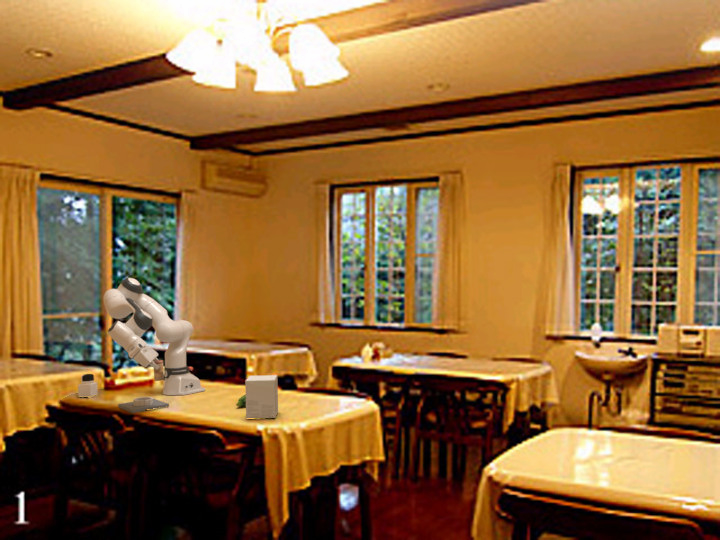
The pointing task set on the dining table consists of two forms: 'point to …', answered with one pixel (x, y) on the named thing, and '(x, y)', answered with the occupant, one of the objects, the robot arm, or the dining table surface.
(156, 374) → the oak peg
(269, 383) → the supplement box
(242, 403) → the vegetable
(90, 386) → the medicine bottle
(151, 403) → the ring collar board
